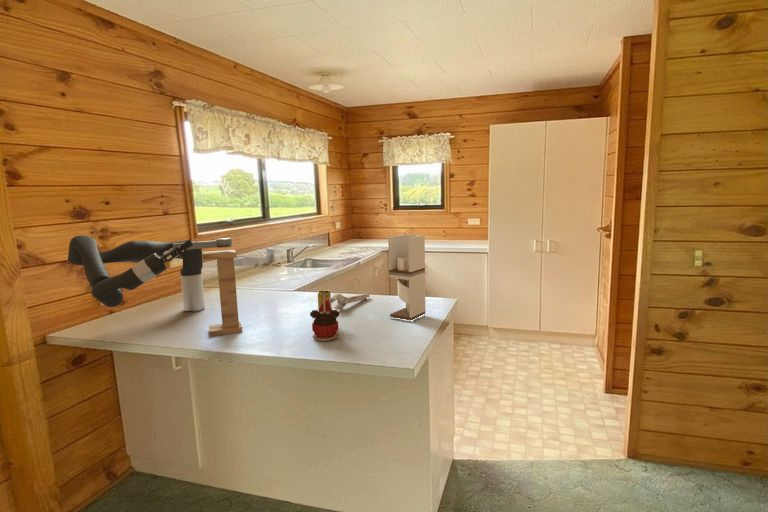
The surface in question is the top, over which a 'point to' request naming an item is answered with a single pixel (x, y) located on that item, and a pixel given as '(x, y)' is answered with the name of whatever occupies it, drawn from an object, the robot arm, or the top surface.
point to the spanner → (208, 244)
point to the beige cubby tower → (408, 273)
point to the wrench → (348, 300)
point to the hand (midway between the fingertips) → (191, 241)
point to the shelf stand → (225, 292)
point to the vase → (320, 297)
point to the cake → (325, 321)
